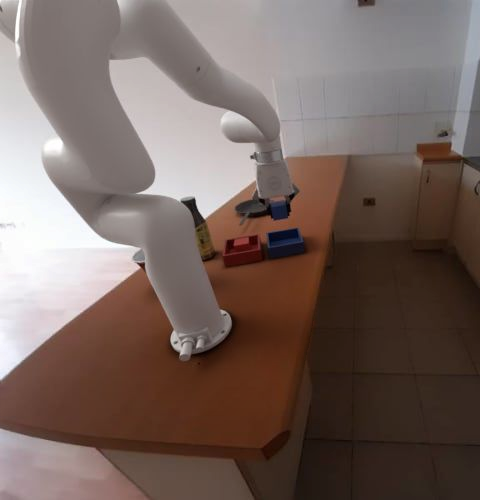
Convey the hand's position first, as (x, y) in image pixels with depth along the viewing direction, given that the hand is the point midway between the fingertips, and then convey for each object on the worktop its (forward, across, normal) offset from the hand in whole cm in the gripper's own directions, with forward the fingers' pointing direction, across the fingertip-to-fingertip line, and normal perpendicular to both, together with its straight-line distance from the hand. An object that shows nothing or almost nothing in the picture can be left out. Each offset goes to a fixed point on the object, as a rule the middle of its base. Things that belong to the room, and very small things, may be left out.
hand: (280, 215), depth 87 cm
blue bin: (+12, 0, 0) cm, 12 cm away
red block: (+11, -14, 0) cm, 18 cm away
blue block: (+1, 0, 0) cm, 1 cm away
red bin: (+12, -14, 0) cm, 18 cm away
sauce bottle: (+12, -26, +4) cm, 29 cm away
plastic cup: (+12, -34, -10) cm, 37 cm away
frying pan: (+12, -11, +32) cm, 36 cm away
